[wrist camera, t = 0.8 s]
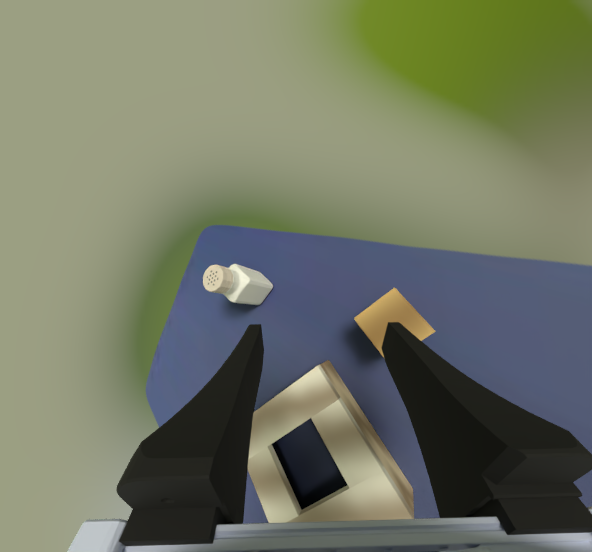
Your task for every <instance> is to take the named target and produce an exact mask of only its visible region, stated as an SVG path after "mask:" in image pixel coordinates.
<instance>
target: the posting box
mask: <svg viewBox="0 0 592 552" xmlns="http://www.w3.org/2000/svg"><path fill="white" fill-rule="evenodd" d="M310 418H311V419H312V421H313V423H314V425H315V426H316V428H317V430H318V432H319V434H320V436H321V437H322V439H323V441H324V443H325V445H326V447H327V448H328V450H329V452H330V454H331V456H332V457H333V459H334V461H335V463H336V465H337V467H338V468H339V470H340V472H341V474H342V476H343V477H344V479H345V481H346V483H347V486H345V487H343V488H341V489H339V490H338V491H336V492H334V493H332V494H330V495H328V496H327V497H325V498H323V499H321V500H319V501H317V502H315V503H314V504H312V505H310V506H308V507H306V508H304V509H303V510H301V507H300V505H299V503H298V501H297V499H296V496H295V494H294V492H293V490H292V488H291V485H290V483H289V481H288V479H287V477H286V474H285V472H284V470H283V468H282V466H281V463H280V461H279V459H278V457H277V455H276V452H275V450H274V448H273V446H272V443H274V442H275V441H277V440H278V439H280V438H281V437H283V436H284V435H286V434H287V433H289V432H290V431H292V430H293V429H295V428H296V427H298V426H299V425H301V424H302V423H304V422H305V421H307V420H308V419H310ZM248 471H249V474H250V476H251V479H252V481H253V484H254V486H255V489H256V491H257V494H258V496H259V499H260V502H261V504H262V507H263V509H264V512H265V514H266V517H267V519H268V522H269V523H289V522H324V521H359V520H394V519H414V505H413V488H412V487H411V485H410V484H409V482H408V481H407V479H406V478H405V476H404V474H403V473H402V471H401V470H400V468H399V467H398V465H397V464H396V462H395V461H394V459H393V458H392V456H391V455H390V453H389V451H388V450H387V448H386V447H385V445H384V444H383V442H382V441H381V439H380V438H379V436H378V435H377V433H376V432H375V430H374V428H373V427H372V425H371V424H370V422H369V421H368V419H367V418H366V416H365V415H364V413H363V412H362V410H361V409H360V407H359V405H358V404H357V402H356V401H355V399H354V398H353V396H352V395H351V393H350V392H349V390H348V389H347V387H346V386H345V384H344V382H343V381H342V379H341V378H340V376H339V375H338V373H337V372H336V370H335V369H334V367H333V366H332V364H331V363H330V361H329V360H328V361H326V362H324V363H322V364H320V365H318V366H316V367H315V368H314V369H312V370H311V371H310V372H308V373H307V374H305V375H304V376H303V377H301V378H300V379H299V380H297V381H296V382H294V383H293V384H292V385H290V386H289V387H288V388H286V389H285V390H284V391H282V392H281V393H279V394H278V395H277V396H275V397H274V398H273V399H271V400H270V401H269V402H267V403H266V404H264V405H263V406H262V407H260V408H259V409H258V410H256V411H255V412H254V413H253V420H252V429H251V438H250V448H249V458H248Z"/></svg>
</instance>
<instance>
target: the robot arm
mask: <svg viewBox="0 0 592 552" xmlns="http://www.w3.org/2000/svg"><path fill="white" fill-rule="evenodd" d="M381 348H382V352H383V355H384V358H385V361H386V364H387V367H388V369H389V371H390V374H391V376H392V378H393V380H394V382H395V385H396V387H397V389H398V391H399V393H400V395H401V398H402V400H403V402H404V404H405V406H406V409H407V411H408V414H409V417H410V419H411V422H412V425H413V428H414V431H415V434H416V437H417V440H418V443H419V446H420V449H421V452H422V455H423V458H424V462H425V465H426V468H427V472H428V475H429V478H430V482H431V486H432V489H433V493H434V497H435V500H436V504H437V508H438V512H439V516H440V518H429V519H394V520H359V521H324V522H289V523H254V524H242V523H243V516H244V504H245V491H246V480H247V469H248V458H249V448H250V438H251V429H252V420H253V413H254V407H255V402H256V397H257V392H258V387H259V382H260V377H261V372H262V365H263V354H264V347H263V338H262V329H261V324H258V325H249V326H248V328H247V330H246V332H245V333H244V335H243V337H242V338H241V340H240V341H239V343H238V345H237V346H236V347H235V349H234V350H233V352H232V353H231V355H230V356H229V357H228V359H227V360H226V361H225V363H224V364H223V365H222V367H221V368H220V369H219V370H218V372H217V373H216V374H215V375H214V376H213V378H212V379H211V380H210V381H209V382H208V383H207V384H206V385H205V386H204V387H203V388H202V389H201V391H200V392H199V393H198V394H197V395H196V396H195V397H194V398H193V399H192V400H191V401H190V402H189V403H187V404H186V405H185V406H184V407H183V408H182V409H181V410H180V411H179V412H177V413H176V414H175V415H174V416H173V417H172V418H171V419H170V420H168V421H167V422H166V423H165V424H163V425H162V426H161V427H160V428H158V429H157V430H156V431H155V432H153V433H152V434H151V435H150V436H149V437H147V438H146V439H145V440H143V441H142V442H141V444H140V445H139V447H138V449H137V450H136V452H135V453H134V455H133V457H132V458H131V460H130V462H129V464H128V466H127V468H126V470H125V472H124V474H123V476H122V478H121V480H120V481H119V483H118V485H117V493H118V495H119V496H120V497H121V498H122V499H123V500H124V501H125V502H126V503H127V504H128V505H129V506H130V507H131V508H133V510H132V513H131V515H130V517H129V519H128V521H126V520H121V519H99V520H98V519H95V520H86V521H85V522H83V524H82V526H81V527H80V529H79V531H78V533H77V535H76V537H75V538H74V540H73V542H72V544H71V545H70V547H69V549H68V551H67V552H428V551H439V552H592V506H591V507H587V508H586V506H585V505H584V504H583V503H582V502H581V500H580V499H579V498H578V497H581V496H582V493H581V492H580V490H579V489H578V488H577V487H576V486H575V484H574V483H573V482H574V481H575V480H577V479H578V478H580V477H581V476H583V475H585V474H586V473H588V472H589V471H590V470H591V469H592V454H591V453H590V452H589V451H588V450H587V449H586V448H585V447H584V446H583V445H582V444H581V443H580V442H579V441H578V440H577V439H576V438H575V437H574V436H573V435H572V434H571V433H570V432H569V431H567V430H565V429H563V428H561V427H559V426H557V425H555V424H553V423H550V422H548V421H546V420H544V419H542V418H540V417H538V416H536V415H534V414H532V413H530V412H528V411H526V410H524V409H522V408H520V407H518V406H517V405H515V404H513V403H511V402H509V401H507V400H506V399H504V398H502V397H500V396H498V395H497V394H495V393H493V392H492V391H490V390H488V389H487V388H485V387H483V386H482V385H480V384H478V383H477V382H475V381H474V380H472V379H471V378H469V377H468V376H466V375H465V374H463V373H462V372H460V371H459V370H457V369H456V368H455V367H453V366H452V365H451V364H449V363H448V362H447V361H445V360H444V359H443V358H441V357H440V356H439V355H437V354H436V353H435V352H434V351H432V350H431V349H430V348H429V347H428V346H426V345H425V344H424V343H423V342H422V341H420V340H419V339H418V338H417V337H416V336H415V335H413V334H412V333H411V332H410V331H409V330H408V329H407V328H405V327H404V326H403V325H402V324H401V323H399V322H388V325H387V328H386V332H385V336H384V340H383V344H382V347H381Z"/></svg>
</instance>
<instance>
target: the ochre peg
mask: <svg viewBox="0 0 592 552" xmlns="http://www.w3.org/2000/svg"><path fill="white" fill-rule="evenodd" d="M354 320H355V321H356V322H357V323H358V325H359V326H360V327H361V329H362V330H363V331H364V333H365V334H366V335H367V336H368V338H369V339H370V340H371V342H372V343H373V344H374V345H375V347H376V348H377V349H378V351H379V352H380V353H381V355H382V356H383V357H384V355H383V352H382V348H381V347H382V344H383V340H384V336H385V332H386V328H387V325H388V322H399V323H401V324H402V325H403V326H404V327H405V328H407V329H408V330H409V331H410V332H411V333H412V334H413V335H415V336H416V337H417V338H418V339H419V340H420V341H422V340H423V339H425V338H426V337H428V336H429V335H431V334H432V333H434V332H435V330H434V329H433V328H432V327H431V326H430V325H429V324H428V323H427V322H426V321H425V320H424V319H423V318H422V316H421V315H420V314H419V313H418V312H417V311H416V310H415V309H414V308H413V307H412V306H411V305H410V303H409V302H408V301H407V300H406V299H405V298H404V297H403V296H402V295H401V294H400V293H399V292H398V291H397V289H396V288H393V289H392V290H391V291H389V292H388V293H387V294H385V295H384V296H383V297H381V298H380V299H379V300H378V301H376V302H375V303H374V304H372V305H371V306H370V307H368V308H367V309H366V310H364V311H363V312H362V313H360V314H359V315H358V316H356V317H355V318H354Z"/></svg>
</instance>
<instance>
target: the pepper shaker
mask: <svg viewBox="0 0 592 552" xmlns="http://www.w3.org/2000/svg"><path fill="white" fill-rule="evenodd" d="M203 285H204V287H205V289H206V290H208V291H209V292H215V293H223V294H224V295H225V296H226V297H227V298H228V299H229V300H230V301H231V302H234V303H242V304H252V305H260V304H261V303H262V302H263V301H264V299H265V298H266V296H267V295H268V294H269V292H270V291H271V290H272V288H273V285H272V283H271V282H270V281H269V280H268V279H267V278H266V277H265V276H263V275H262V274H261V273H260V272H258V271H255V270H252V269H249V268H246V267H243V266H240V265H237V264H233V265H231V266H230V267H229V268H226V267H223V266H219V265H212V266H210V267H209V268H208V269H207V270H206V271H205V274H204V276H203Z"/></svg>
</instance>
